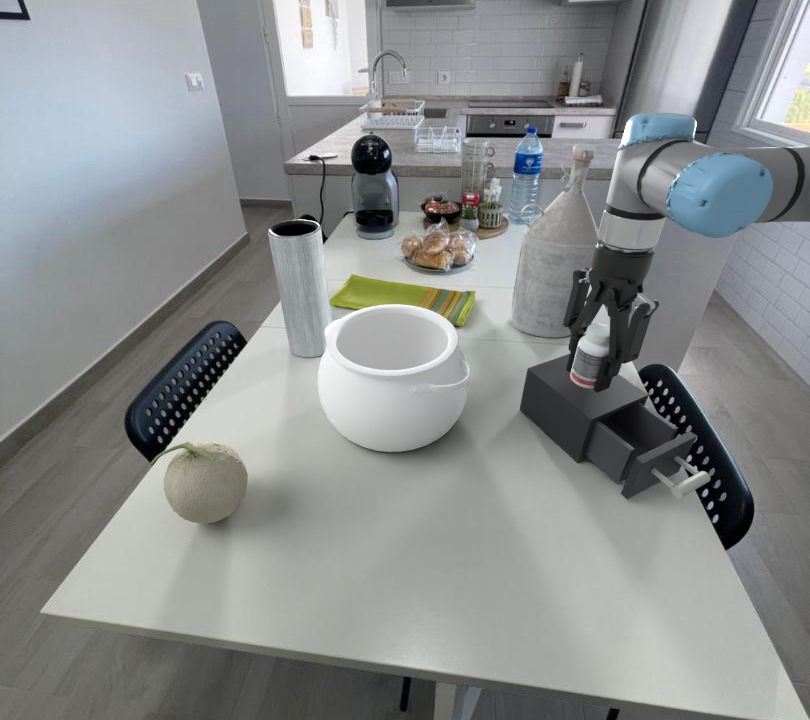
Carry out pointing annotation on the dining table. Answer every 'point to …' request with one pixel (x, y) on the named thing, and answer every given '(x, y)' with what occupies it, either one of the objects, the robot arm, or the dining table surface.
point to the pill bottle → (590, 355)
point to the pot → (392, 377)
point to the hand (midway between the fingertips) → (587, 378)
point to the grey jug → (555, 254)
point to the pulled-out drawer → (642, 451)
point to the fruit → (204, 481)
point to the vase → (302, 284)
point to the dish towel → (404, 297)
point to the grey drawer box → (572, 404)
